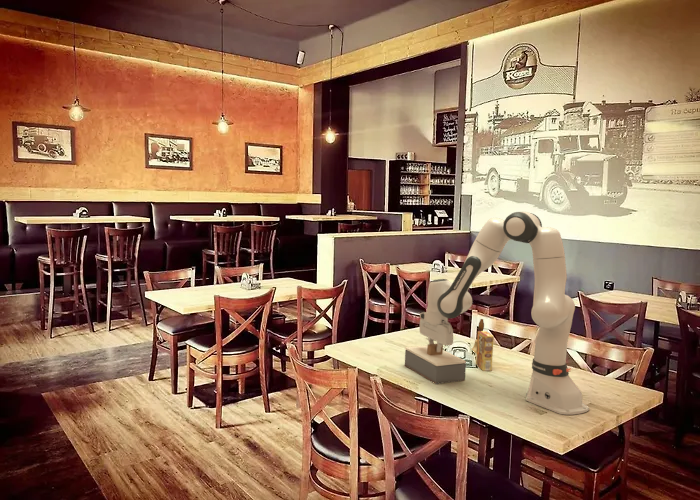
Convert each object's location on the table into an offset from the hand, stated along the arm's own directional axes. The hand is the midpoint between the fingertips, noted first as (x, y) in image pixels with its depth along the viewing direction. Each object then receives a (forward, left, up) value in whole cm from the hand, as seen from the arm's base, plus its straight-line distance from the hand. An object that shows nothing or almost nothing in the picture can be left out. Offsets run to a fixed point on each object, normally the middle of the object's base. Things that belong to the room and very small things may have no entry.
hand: (435, 350), depth 224 cm
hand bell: (+20, -39, -10) cm, 45 cm away
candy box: (-1, -25, -10) cm, 27 cm away
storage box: (0, 0, -10) cm, 10 cm away
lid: (0, 0, -2) cm, 2 cm away
